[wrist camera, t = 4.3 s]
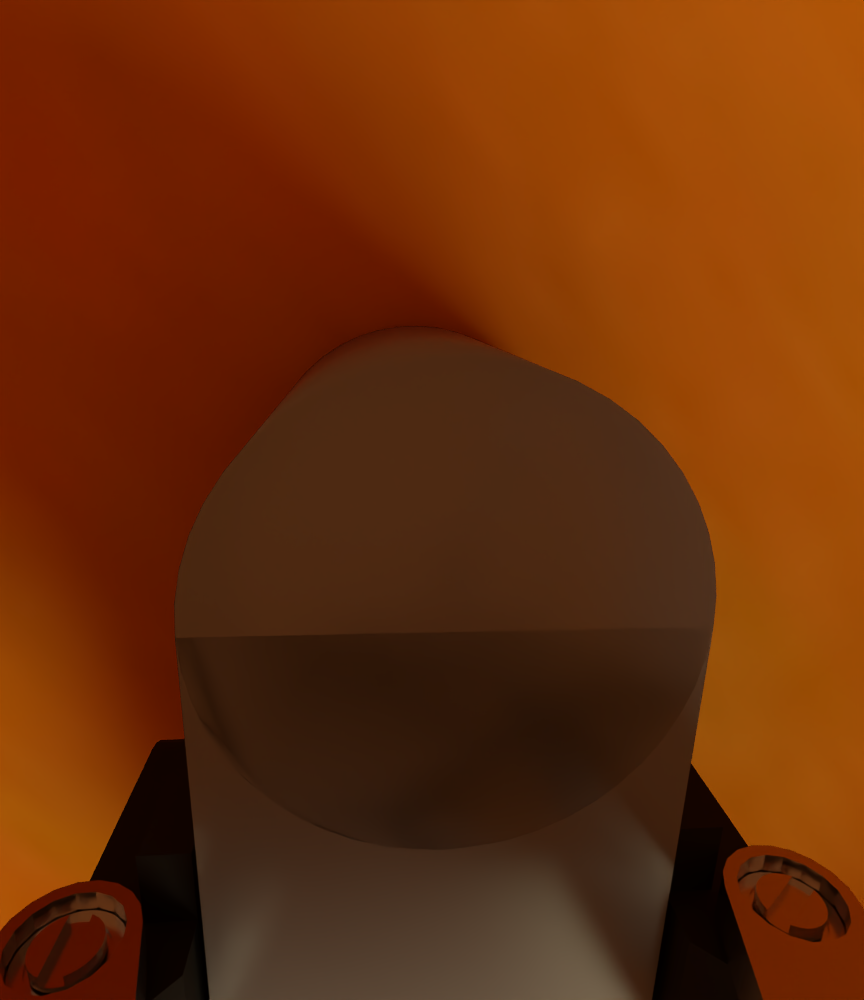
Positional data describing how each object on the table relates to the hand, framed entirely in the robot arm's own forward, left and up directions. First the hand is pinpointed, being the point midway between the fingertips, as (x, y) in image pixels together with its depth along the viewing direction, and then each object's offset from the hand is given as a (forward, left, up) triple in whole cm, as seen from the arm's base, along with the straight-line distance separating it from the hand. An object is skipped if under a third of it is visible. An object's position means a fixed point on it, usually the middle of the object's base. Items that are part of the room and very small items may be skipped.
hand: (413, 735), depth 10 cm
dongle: (+2, 0, -1) cm, 2 cm away
